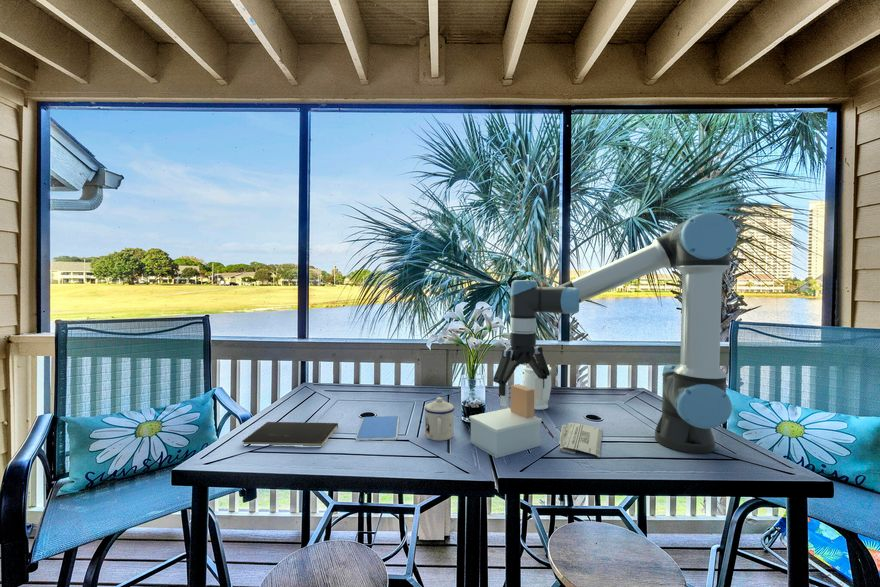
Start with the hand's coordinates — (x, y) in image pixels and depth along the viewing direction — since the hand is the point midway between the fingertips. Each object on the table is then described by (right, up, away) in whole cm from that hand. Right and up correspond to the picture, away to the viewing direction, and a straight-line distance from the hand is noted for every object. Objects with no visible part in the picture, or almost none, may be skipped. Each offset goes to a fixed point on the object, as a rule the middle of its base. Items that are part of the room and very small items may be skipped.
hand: (522, 402), depth 120 cm
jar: (+12, -10, +32) cm, 36 cm away
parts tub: (-6, -11, -3) cm, 13 cm away
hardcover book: (-69, -12, +2) cm, 70 cm away
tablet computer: (-44, -12, +9) cm, 47 cm away
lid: (-6, -4, -3) cm, 8 cm away
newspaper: (+17, -12, 0) cm, 21 cm away
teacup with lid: (-25, -11, +2) cm, 27 cm away
